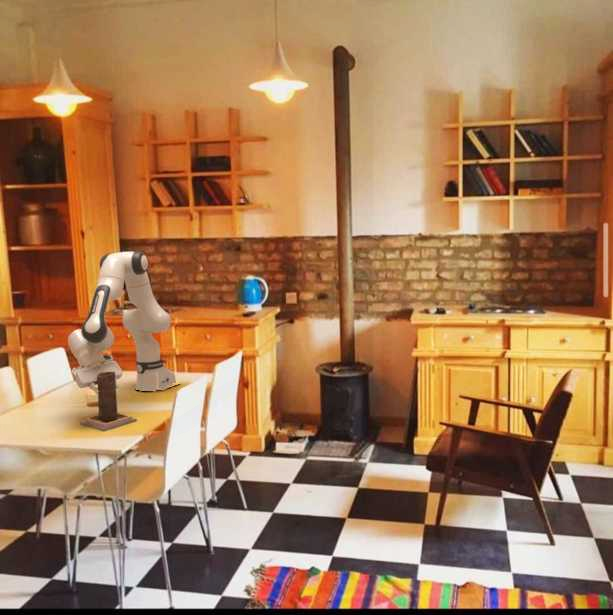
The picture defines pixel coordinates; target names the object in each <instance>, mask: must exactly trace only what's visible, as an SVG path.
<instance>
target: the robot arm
mask: <svg viewBox="0 0 613 615" xmlns="http://www.w3.org/2000/svg"><path fill="white" fill-rule="evenodd" d="M148 268H149V258H148V256H147V254H145V252H143V251H122V252H121V251H120V252H114V253H107V254H104V255H103V256H102V257H101V258H100V260H99V270H100V271H99V273H98V278H97V283H96V288H95V291H94V294H93V298H92V302H91V304H90V305H91V306H90V309H89V312H88V315H87V317H86V319H85V320H84V322H83V324H82V326H81V328H78V329H75V330H73V331H72V332H71V333H70V334H69V335H68V336H67V337H68V338H67V344H68V347H69V349H70V351H71V353H72V355H73V356H74V357H75V359H76V360H77V363H78V364H79V366H77V367H75V366H74V367H73V368H72V369H71V375H72V376H73V377H74V380H75V383H76V385H77V387H78V388H80V389H85V388H89V389H90V390H92V391H93V392H94V393H95V394H96V395H98V393H100V392H101V390H100V389H99V388H98V383H97V375H98V374H99V373H102V372H115V380H116V390H117V389H119V384H118V380H120V379H121V378H122V376H123V372H124V371H123V369H122V368H121V367H120V366H119V364H118V362H117V361H116V360H114V357H113V355H108V354H101V353H102V352H104V351H106V350H108V349H110V348H111V347H112V346H113V345H114V343H115V339H116V338H115V334H114V333H113V331H112V330H111V328H109V326H108V325H107V324H106V323H107V322H106V319H105V318H106V314H107V308H108V305H109V302H111V301H116V300H118V299H119V298H121V296H122V293H123V290H124V286H125V287H126V291H127V295H128V299H129V302H130V303H131V304H132V305H134V306H135V307H136V308H132V309H127V310H126V311H125V312H124V314H123V315H122V325H123V327H124V328H125V329H126V330H127V331H128V332H129V333H130V335H131V337H132V339H133V342H134V345H135V350H136V351H135V352H136V361H135V363H136V364H135V366H136V367H135V368H136V382H135V383H136V384H135V387H134V390H135V389H136V390H140V391H139V392H141V391H153V390H164V389H166V388H168V387H170V386H173V383H176V376H175V372H174V371H172V370H171V369H169V368H167V366H165V364H167V363H168V360H167V359H166V358H163V359H162V358H161V348H160V347H161V346H160V343H159V341H158V340H156V339H155V338H154V336H153V335H152V333H156V334H158V333H159V334H160V333H163V332H167V331H168V330H169V328H171V323H172V319H171V316H170V314H169V313H168V312H167V311H165V310H164V309H163V308H162V307H161V306H160V304H159V303H158V301H157V300H156V298H155V295H154V293H153V290H152V286H151V282H150V278H149V275H148V272H147V270H148ZM124 284H125V285H124ZM96 385H97V386H96ZM136 390H135V391H136ZM164 391H165V390H164ZM153 392H154V391H153Z"/></svg>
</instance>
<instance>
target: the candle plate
mask: <svg viewBox="0 0 613 615" xmlns="http://www.w3.org/2000/svg"><path fill="white" fill-rule="evenodd" d="M137 421H138V418H134V417H133V415H130V414H125V413H122V412H118V411H117V419H113V420H108V421H105V420H100V419H99V413H97V414H94V415H91V416H87V417H85V418H84V420H83V421H80V425H82V426H85V427H89V428H91V427H92V429H95V430H98V431H102V432H106V431H110V430H113V429H115V428H119V427H123V426H125V425H129V424H132V423H134V422H137Z"/></svg>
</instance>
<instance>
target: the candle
mask: <svg viewBox="0 0 613 615" xmlns="http://www.w3.org/2000/svg"><path fill="white" fill-rule="evenodd" d="M97 383H98V384H97V388H99V389H100V390H101V392H100V393H98V394H97V397H98V398H97V400H98V401H97V403H98V414H99V419H100V420H105V421H108V420H113V419H117V412H118V404H117V403H118V401H117V400H118V399H117V389H116V380H115V372H102V373H99V374H98V375H97Z"/></svg>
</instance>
